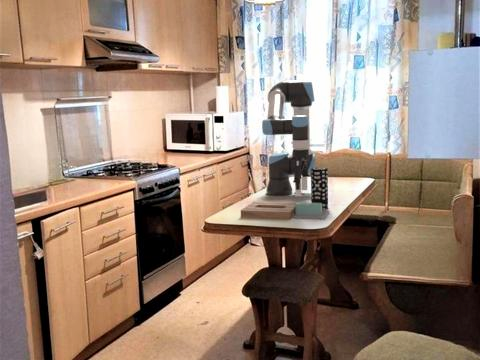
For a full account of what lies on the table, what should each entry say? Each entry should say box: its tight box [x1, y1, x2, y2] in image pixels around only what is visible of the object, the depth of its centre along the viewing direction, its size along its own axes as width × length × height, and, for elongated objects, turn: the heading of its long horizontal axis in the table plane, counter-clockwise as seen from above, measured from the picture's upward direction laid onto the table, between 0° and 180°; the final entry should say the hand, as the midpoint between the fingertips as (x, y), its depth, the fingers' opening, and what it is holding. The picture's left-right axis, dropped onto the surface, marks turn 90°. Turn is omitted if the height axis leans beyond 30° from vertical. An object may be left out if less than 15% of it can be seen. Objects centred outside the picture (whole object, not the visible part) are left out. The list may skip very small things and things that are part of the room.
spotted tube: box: [310, 166, 329, 210], centre depth 257 cm, size 8×8×20 cm
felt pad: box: [294, 210, 331, 220], centre depth 244 cm, size 14×14×1 cm
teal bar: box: [295, 201, 323, 215], centre depth 244 cm, size 4×12×5 cm, turn 71°
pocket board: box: [240, 201, 297, 220], centre depth 250 cm, size 20×24×4 cm
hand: (301, 193), depth 245 cm, fingers open, 13 cm apart
